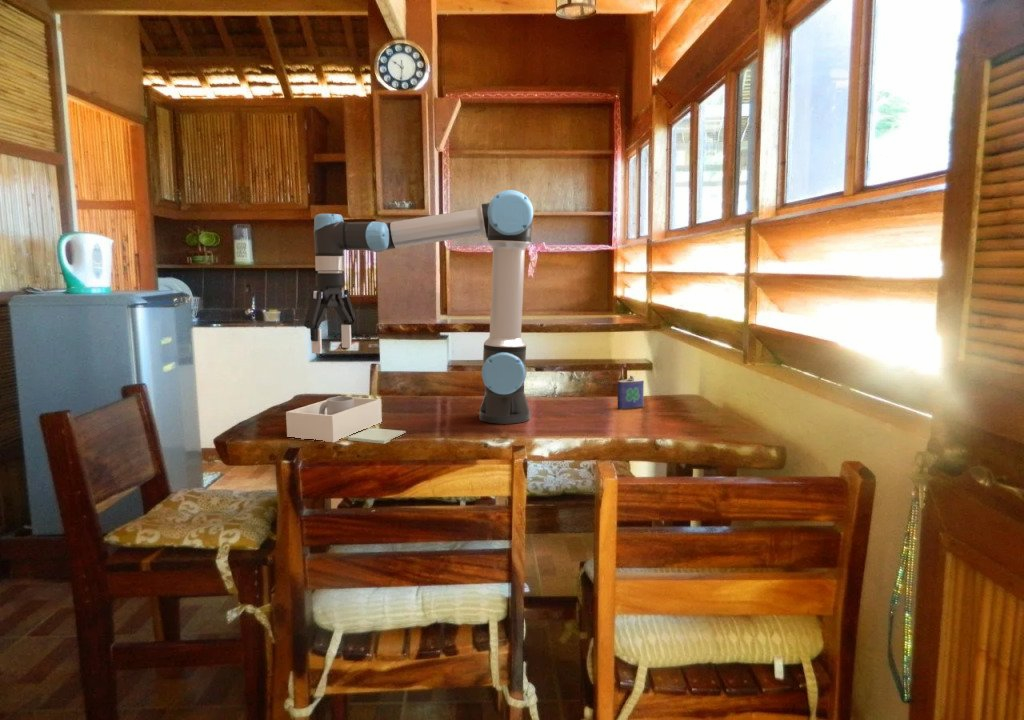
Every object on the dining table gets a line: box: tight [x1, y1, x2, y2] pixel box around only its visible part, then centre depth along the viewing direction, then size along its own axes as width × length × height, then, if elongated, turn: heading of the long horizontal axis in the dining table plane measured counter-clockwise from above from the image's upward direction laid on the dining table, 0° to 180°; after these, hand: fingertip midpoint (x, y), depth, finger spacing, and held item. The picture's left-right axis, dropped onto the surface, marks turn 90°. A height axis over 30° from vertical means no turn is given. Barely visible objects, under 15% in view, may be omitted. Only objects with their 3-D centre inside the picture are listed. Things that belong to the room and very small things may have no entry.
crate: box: [285, 395, 383, 443], centre depth 190 cm, size 15×24×7 cm, turn 159°
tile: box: [347, 427, 407, 445], centre depth 182 cm, size 11×11×1 cm
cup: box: [319, 395, 354, 415], centre depth 190 cm, size 7×10×9 cm
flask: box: [617, 374, 645, 411], centre depth 216 cm, size 9×3×11 cm, turn 112°
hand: (332, 350), depth 187 cm, fingers open, 13 cm apart
